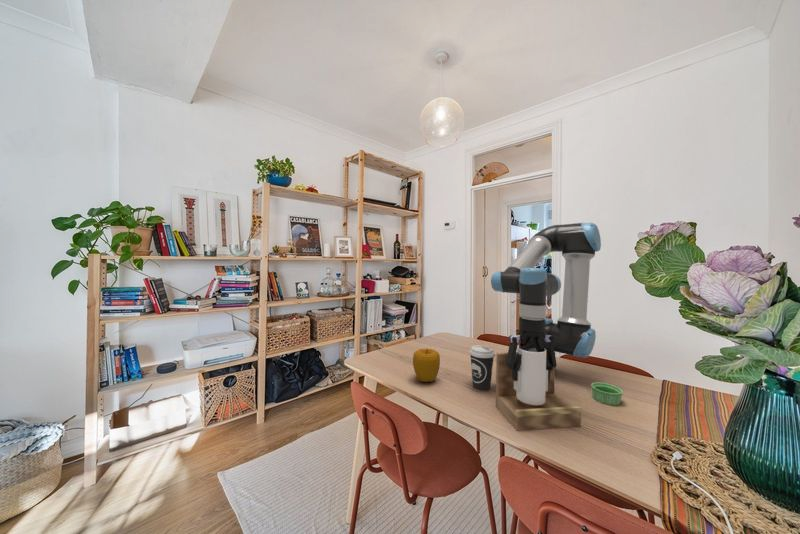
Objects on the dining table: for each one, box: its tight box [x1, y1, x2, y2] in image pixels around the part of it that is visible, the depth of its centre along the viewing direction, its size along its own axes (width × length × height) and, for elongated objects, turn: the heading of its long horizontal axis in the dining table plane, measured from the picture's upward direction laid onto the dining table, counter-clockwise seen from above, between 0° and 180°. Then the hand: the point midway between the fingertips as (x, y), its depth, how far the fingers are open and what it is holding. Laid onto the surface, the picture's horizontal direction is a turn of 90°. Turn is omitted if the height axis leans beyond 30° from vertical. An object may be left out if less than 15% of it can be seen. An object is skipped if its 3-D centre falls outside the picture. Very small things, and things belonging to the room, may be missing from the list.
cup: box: [516, 344, 546, 405], centre depth 89 cm, size 8×8×16 cm
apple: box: [412, 348, 441, 383], centre depth 115 cm, size 11×11×13 cm
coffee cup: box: [468, 344, 496, 392], centre depth 109 cm, size 10×10×15 cm
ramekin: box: [590, 381, 624, 406], centre depth 100 cm, size 9×9×4 cm
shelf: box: [495, 351, 582, 431], centre depth 89 cm, size 20×14×18 cm
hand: (530, 389), depth 89 cm, fingers closed on cup, 8 cm apart
